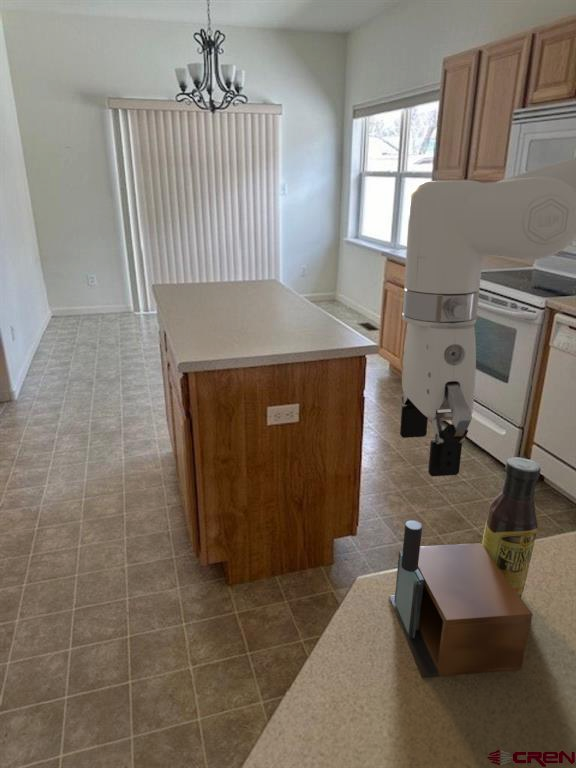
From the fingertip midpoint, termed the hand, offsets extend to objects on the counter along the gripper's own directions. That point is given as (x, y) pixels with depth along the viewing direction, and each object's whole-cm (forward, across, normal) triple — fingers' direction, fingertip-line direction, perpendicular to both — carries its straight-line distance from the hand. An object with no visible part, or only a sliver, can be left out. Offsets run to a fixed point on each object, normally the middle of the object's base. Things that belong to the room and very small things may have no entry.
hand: (427, 454), depth 61 cm
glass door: (+23, 0, +1) cm, 23 cm away
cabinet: (+24, -2, -5) cm, 24 cm away
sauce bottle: (+24, +4, -14) cm, 28 cm away
